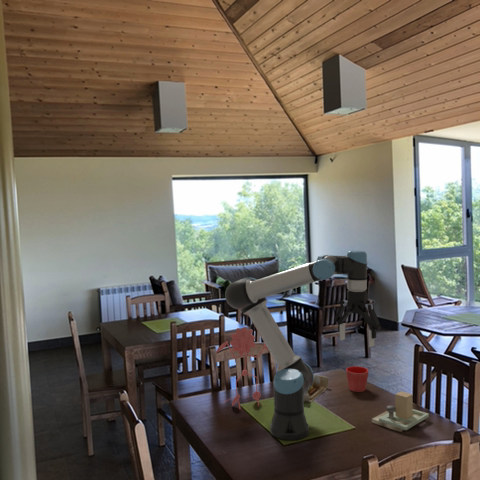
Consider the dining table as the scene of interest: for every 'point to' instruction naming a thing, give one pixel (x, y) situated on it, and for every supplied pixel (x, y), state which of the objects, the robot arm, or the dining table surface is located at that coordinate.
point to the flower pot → (357, 378)
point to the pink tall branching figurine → (243, 344)
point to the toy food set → (316, 388)
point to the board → (376, 420)
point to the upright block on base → (404, 412)
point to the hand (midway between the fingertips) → (356, 343)
